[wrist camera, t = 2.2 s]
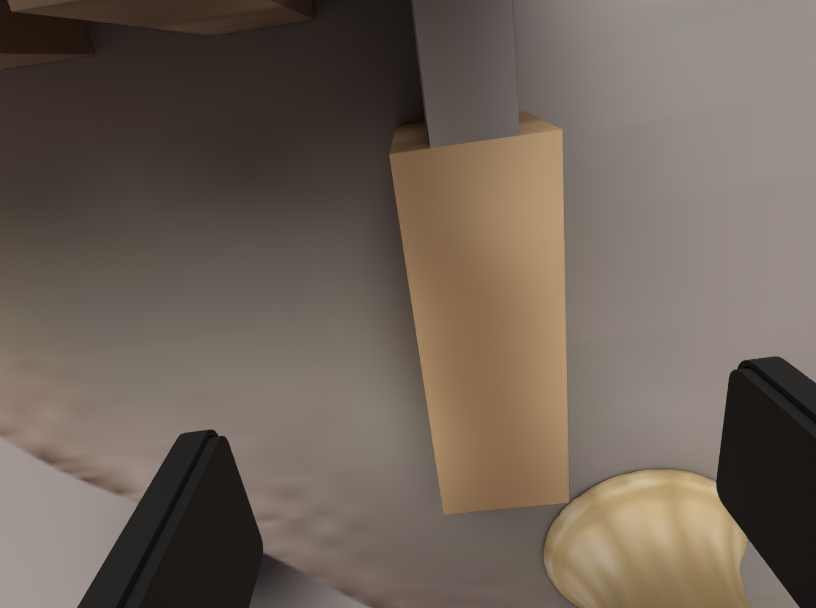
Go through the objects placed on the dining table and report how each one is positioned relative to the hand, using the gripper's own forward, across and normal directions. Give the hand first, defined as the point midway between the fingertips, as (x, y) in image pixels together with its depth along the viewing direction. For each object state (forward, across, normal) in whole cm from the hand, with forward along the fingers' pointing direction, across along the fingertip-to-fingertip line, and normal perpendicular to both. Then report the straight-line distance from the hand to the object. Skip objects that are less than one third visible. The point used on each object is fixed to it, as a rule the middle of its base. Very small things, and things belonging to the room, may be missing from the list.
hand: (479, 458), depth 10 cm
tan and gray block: (+8, -1, -2) cm, 9 cm away
